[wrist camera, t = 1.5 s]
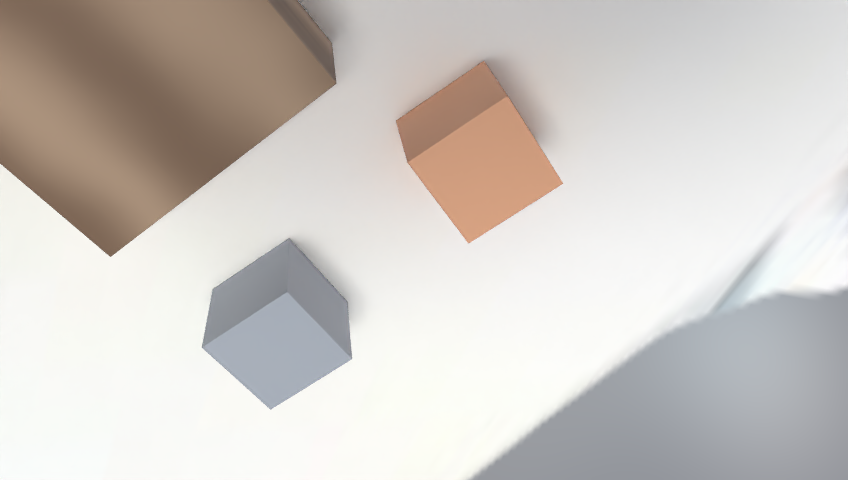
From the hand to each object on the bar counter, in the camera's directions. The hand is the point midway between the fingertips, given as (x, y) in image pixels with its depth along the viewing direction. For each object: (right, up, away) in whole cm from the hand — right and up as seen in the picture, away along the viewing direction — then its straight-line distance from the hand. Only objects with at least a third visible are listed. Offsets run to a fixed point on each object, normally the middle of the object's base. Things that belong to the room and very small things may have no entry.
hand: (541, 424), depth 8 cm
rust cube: (+1, +7, +29) cm, 30 cm away
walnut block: (-14, +12, +25) cm, 30 cm away
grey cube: (-9, -1, +32) cm, 34 cm away
